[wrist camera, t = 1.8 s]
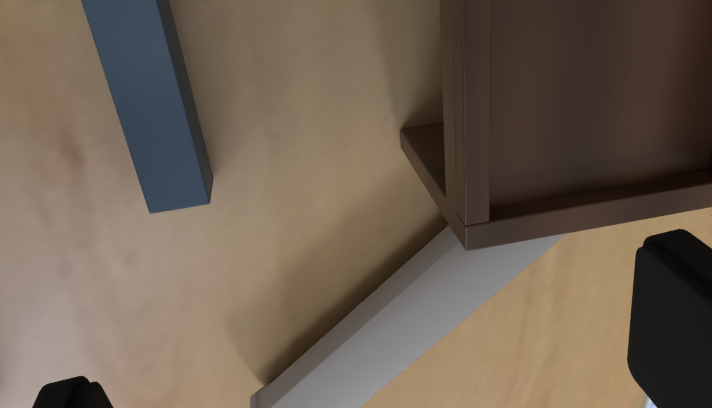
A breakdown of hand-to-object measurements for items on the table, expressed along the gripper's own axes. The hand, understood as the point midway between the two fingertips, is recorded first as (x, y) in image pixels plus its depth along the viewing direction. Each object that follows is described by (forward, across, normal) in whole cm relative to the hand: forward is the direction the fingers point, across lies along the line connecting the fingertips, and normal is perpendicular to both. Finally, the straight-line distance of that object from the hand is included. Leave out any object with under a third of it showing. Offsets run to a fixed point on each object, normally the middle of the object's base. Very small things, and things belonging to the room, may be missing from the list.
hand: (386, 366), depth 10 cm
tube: (+22, -4, +15) cm, 27 cm away
